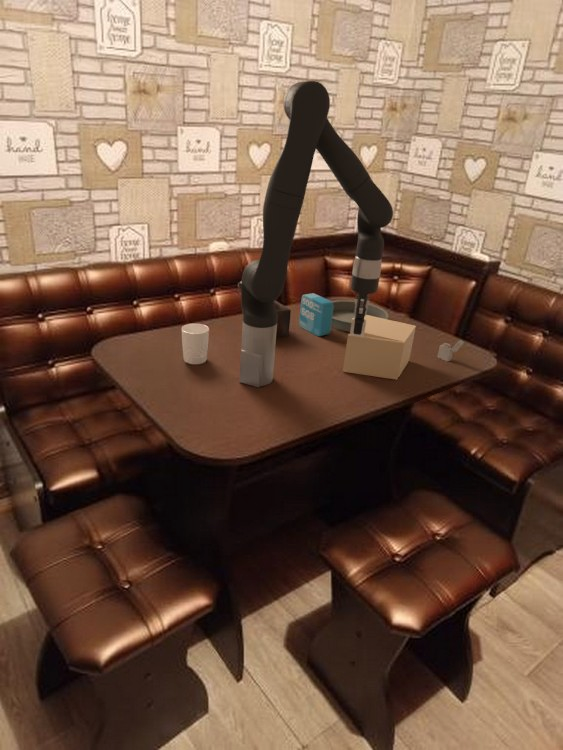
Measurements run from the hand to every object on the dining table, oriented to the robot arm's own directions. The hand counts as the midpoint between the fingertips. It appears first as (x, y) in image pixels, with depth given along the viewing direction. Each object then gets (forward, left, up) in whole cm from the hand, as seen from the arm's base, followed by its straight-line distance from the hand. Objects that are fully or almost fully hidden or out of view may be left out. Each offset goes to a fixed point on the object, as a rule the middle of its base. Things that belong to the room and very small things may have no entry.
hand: (357, 332), depth 154 cm
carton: (+11, -5, -13) cm, 18 cm away
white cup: (-18, +43, -13) cm, 48 cm away
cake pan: (+42, +13, -14) cm, 46 cm away
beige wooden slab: (+1, -5, -13) cm, 14 cm away
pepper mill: (+12, +36, -13) cm, 40 cm away
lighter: (+27, -24, -13) cm, 39 cm away
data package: (+25, +22, -13) cm, 36 cm away
